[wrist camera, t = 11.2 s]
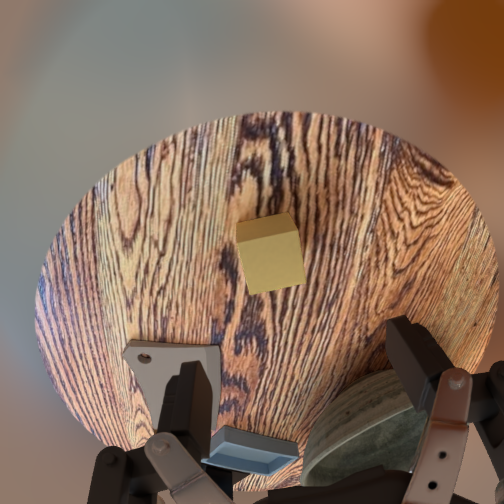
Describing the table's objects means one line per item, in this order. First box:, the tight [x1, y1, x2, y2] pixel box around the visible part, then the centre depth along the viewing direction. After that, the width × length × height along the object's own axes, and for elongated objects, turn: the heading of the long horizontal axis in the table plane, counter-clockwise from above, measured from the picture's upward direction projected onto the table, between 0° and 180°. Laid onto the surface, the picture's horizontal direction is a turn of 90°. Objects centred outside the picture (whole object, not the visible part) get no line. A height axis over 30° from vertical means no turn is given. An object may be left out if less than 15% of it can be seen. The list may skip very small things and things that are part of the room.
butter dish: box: [201, 425, 299, 476], centre depth 35 cm, size 11×7×2 cm, turn 59°
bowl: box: [299, 369, 469, 486], centre depth 28 cm, size 21×21×10 cm
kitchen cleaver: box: [122, 340, 221, 435], centre depth 32 cm, size 24×1×10 cm
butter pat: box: [236, 212, 306, 295], centre depth 22 cm, size 4×4×4 cm
